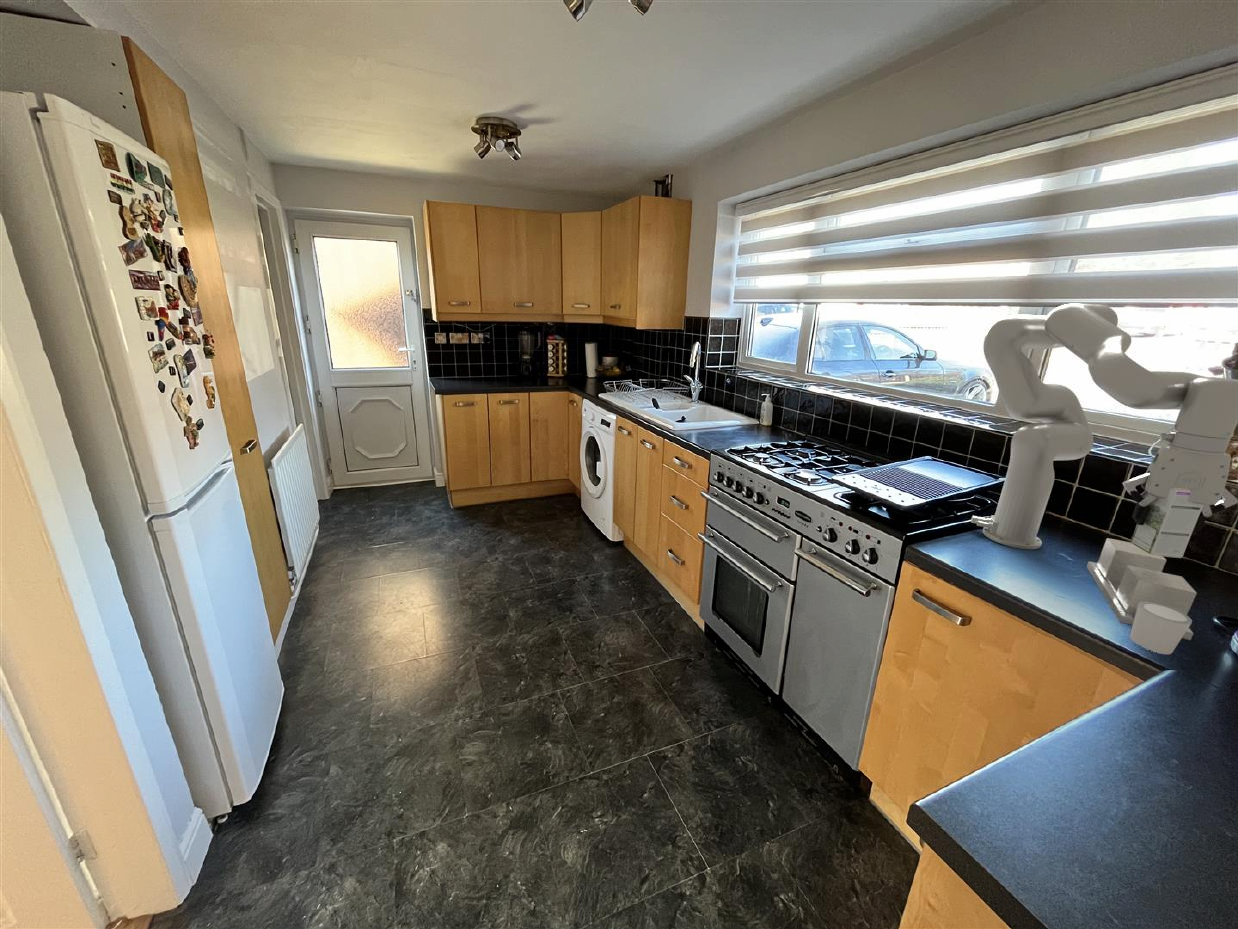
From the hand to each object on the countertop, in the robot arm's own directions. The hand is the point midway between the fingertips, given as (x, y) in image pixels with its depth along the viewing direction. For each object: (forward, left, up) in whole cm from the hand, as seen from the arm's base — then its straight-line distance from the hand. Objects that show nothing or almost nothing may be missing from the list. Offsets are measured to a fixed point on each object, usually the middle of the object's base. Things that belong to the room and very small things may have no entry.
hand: (1164, 526), depth 101 cm
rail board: (0, 0, -17) cm, 17 cm away
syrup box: (0, 0, -5) cm, 5 cm away
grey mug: (-2, -19, -17) cm, 26 cm away
